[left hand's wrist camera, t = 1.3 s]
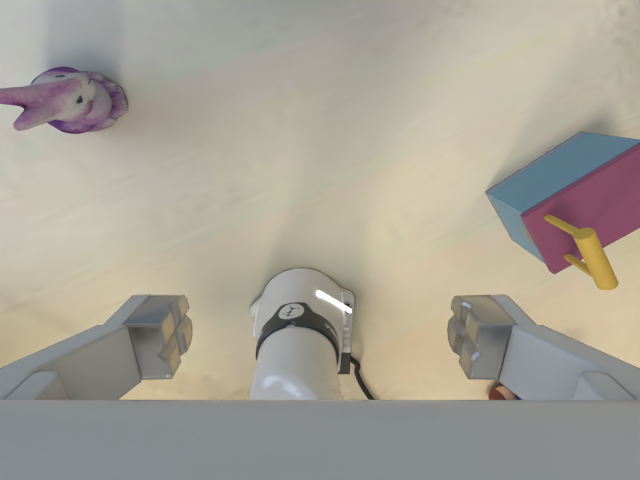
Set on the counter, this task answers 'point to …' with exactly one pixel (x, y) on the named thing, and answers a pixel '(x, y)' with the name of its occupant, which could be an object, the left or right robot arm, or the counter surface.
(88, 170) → the counter surface
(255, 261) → the counter surface
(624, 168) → the lid
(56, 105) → the figurine
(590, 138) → the chest
